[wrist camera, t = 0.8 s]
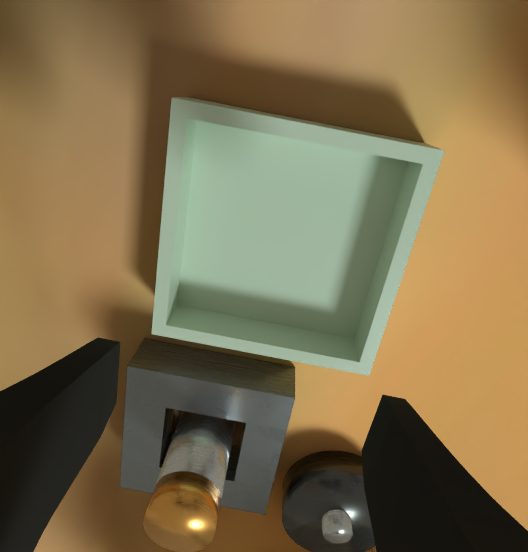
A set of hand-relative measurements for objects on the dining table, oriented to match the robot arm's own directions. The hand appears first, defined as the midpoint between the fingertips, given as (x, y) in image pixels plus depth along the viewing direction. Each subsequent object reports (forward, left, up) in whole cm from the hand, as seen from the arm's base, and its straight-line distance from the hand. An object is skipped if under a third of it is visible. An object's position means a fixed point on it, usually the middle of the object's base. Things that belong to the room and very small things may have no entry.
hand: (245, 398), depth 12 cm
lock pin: (+2, +9, -10) cm, 13 cm away
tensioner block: (-2, +11, -10) cm, 14 cm away
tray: (0, -2, -10) cm, 10 cm away
